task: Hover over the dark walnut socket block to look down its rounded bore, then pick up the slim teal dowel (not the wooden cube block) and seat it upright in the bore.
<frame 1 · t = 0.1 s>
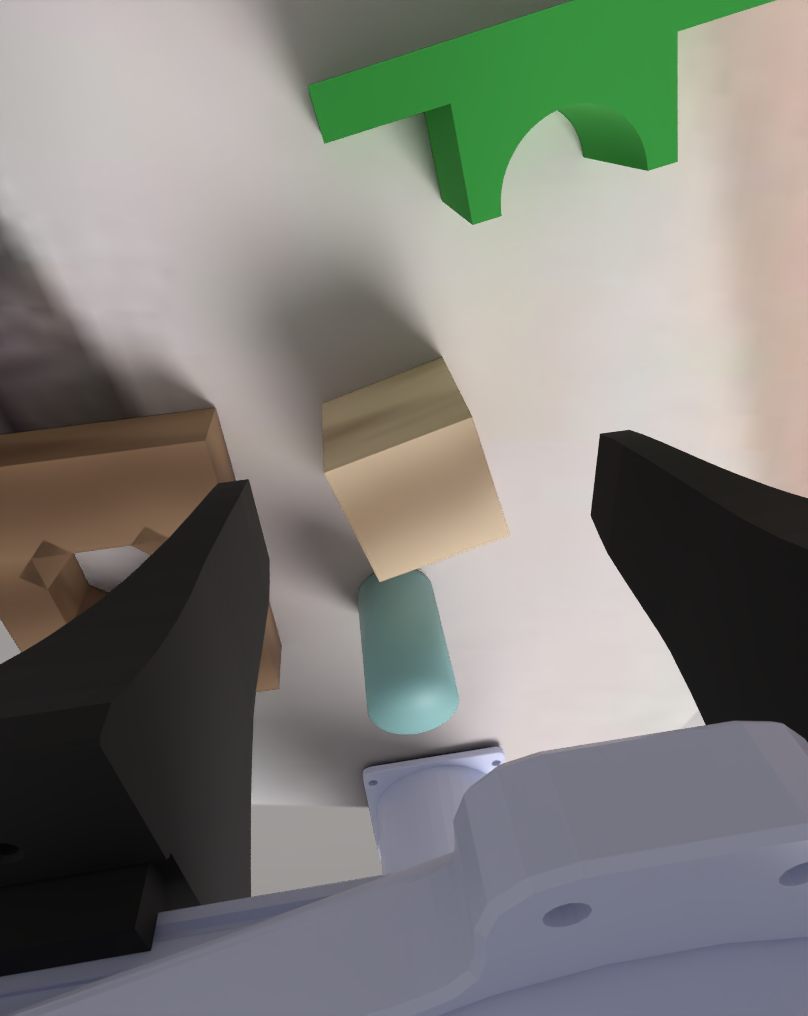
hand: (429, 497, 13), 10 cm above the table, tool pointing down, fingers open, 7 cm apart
socket block: (140, 558, 25), on the table
teal dowel: (395, 595, 27), on the table
wooden cube block: (402, 433, 23), on the table
green pronged block: (508, 101, 18), on the table
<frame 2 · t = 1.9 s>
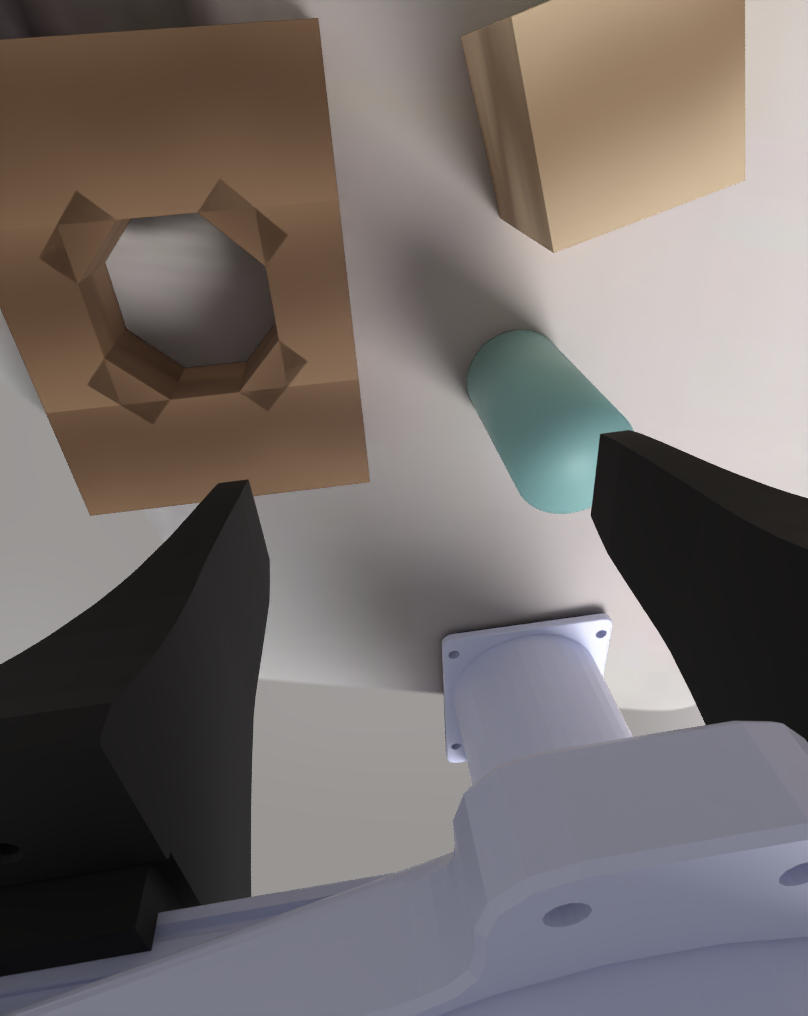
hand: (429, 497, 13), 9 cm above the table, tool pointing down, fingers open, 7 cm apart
socket block: (197, 289, 19), on the table
teal dowel: (514, 377, 21), on the table
wooden cube block: (559, 103, 17), on the table
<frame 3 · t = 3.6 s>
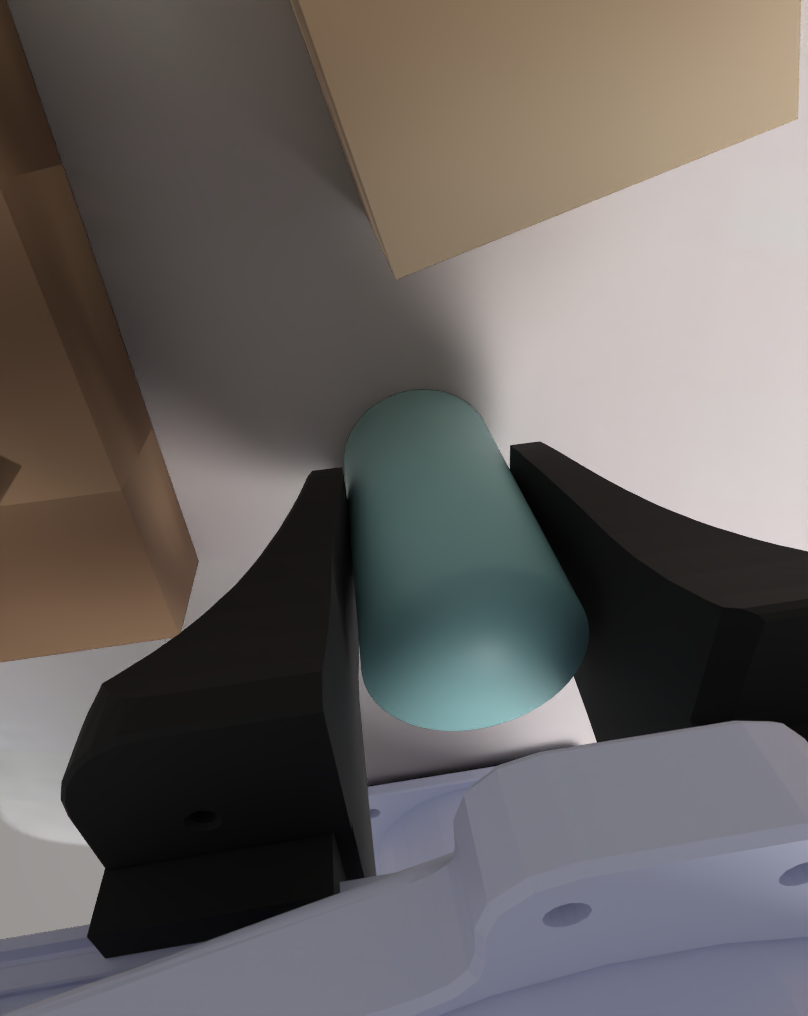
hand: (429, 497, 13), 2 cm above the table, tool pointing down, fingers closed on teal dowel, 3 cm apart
teal dowel: (418, 459, 14), on the table, touching gripper
wooden cube block: (448, 6, 10), on the table
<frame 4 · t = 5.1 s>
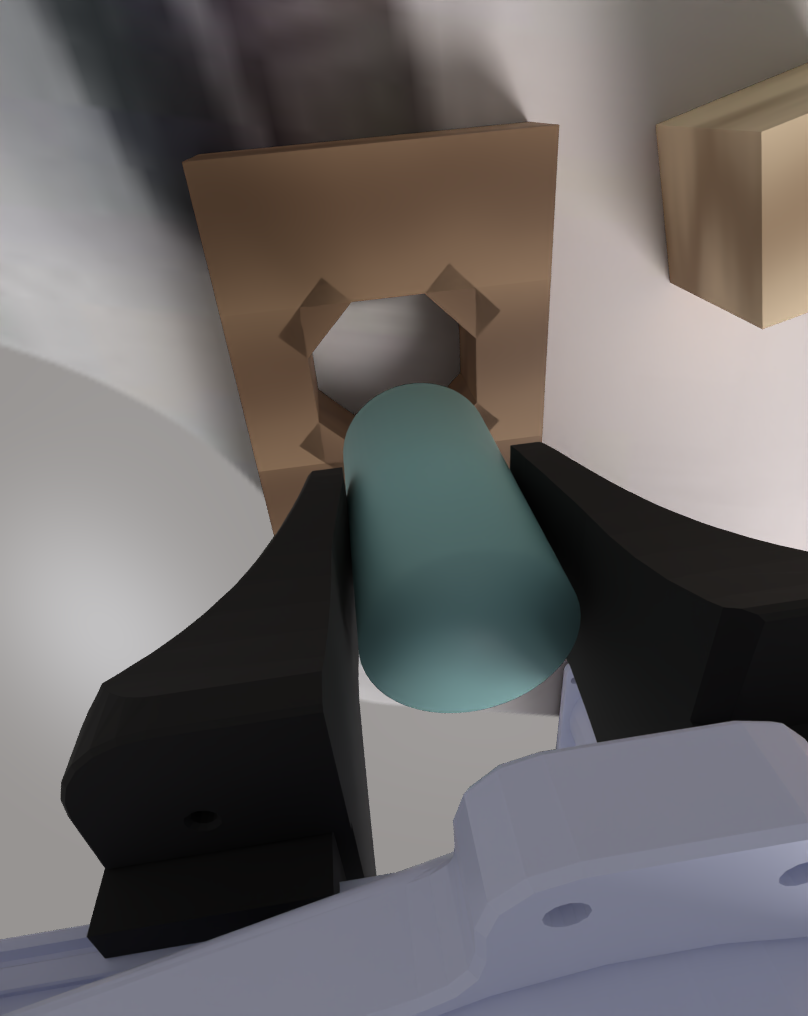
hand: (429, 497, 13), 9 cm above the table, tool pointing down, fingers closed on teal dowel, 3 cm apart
socket block: (387, 352, 20), on the table
teal dowel: (416, 452, 14), point 7 cm above the table, touching gripper
wooden cube block: (736, 179, 18), on the table
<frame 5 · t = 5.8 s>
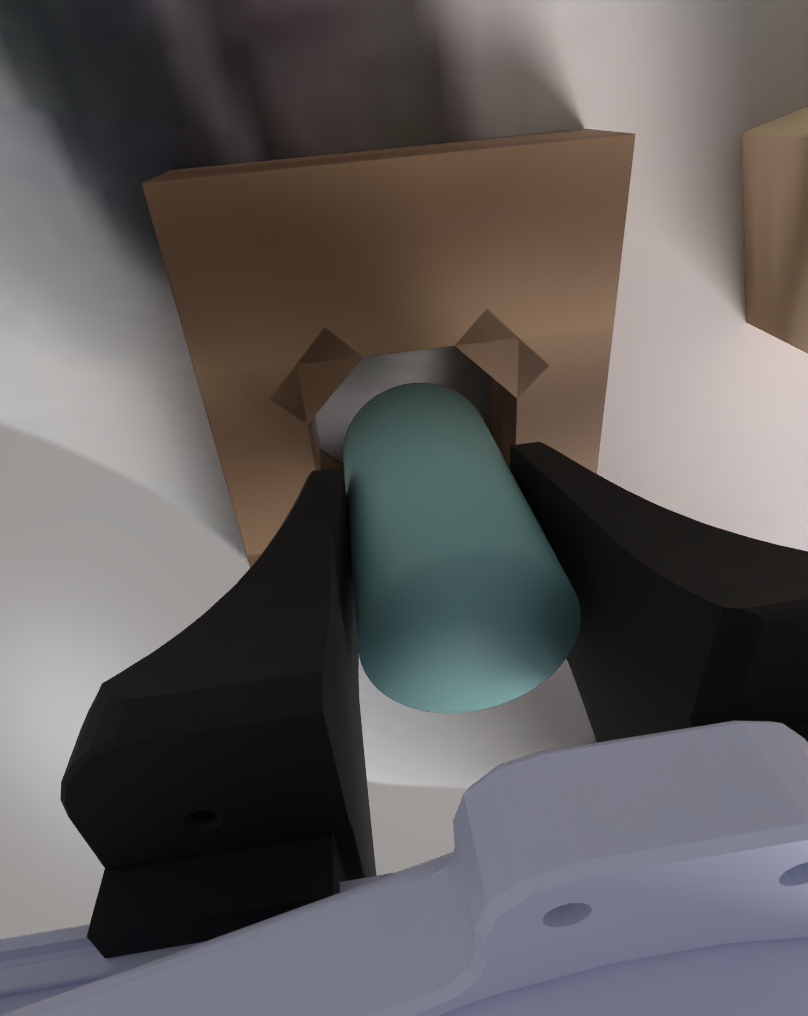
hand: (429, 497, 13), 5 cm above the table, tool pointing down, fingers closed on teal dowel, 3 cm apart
socket block: (403, 406, 16), on the table
teal dowel: (416, 452, 14), point 3 cm above the table, touching gripper
when the fingers open (3 cm above the table, at t = 6.4 s): teal dowel drops 1 cm, resting in socket block.
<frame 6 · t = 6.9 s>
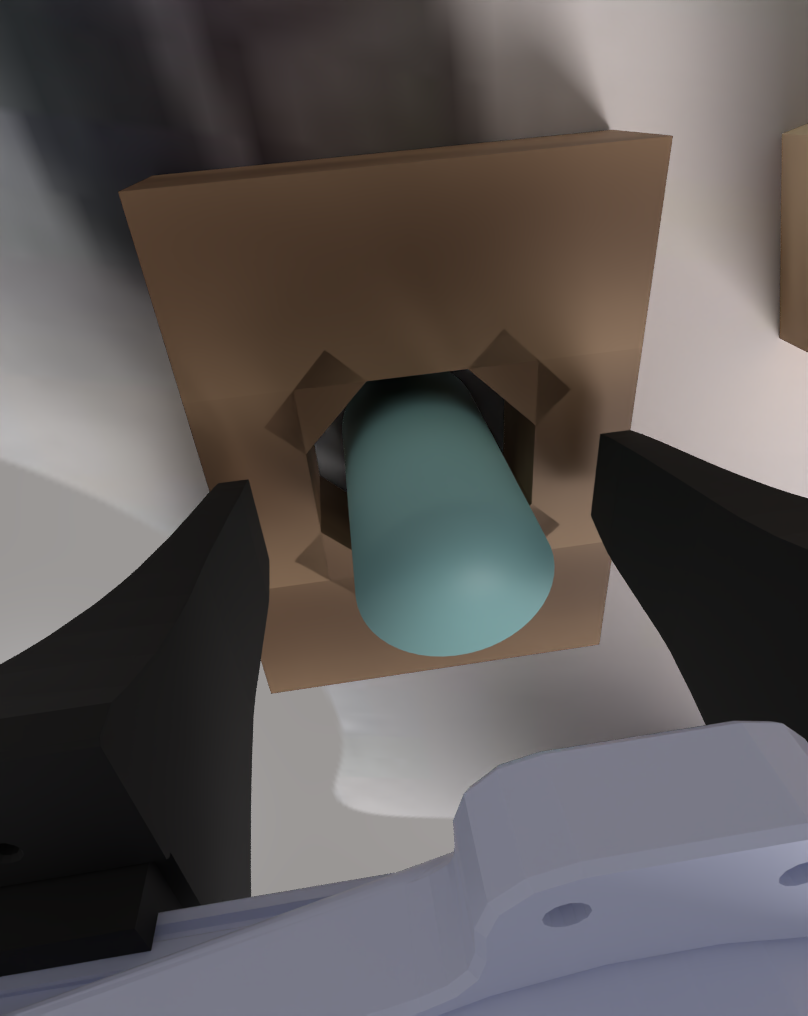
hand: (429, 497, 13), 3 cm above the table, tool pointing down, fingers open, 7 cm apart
socket block: (409, 428, 15), on the table
teal dowel: (410, 427, 15), resting in socket block
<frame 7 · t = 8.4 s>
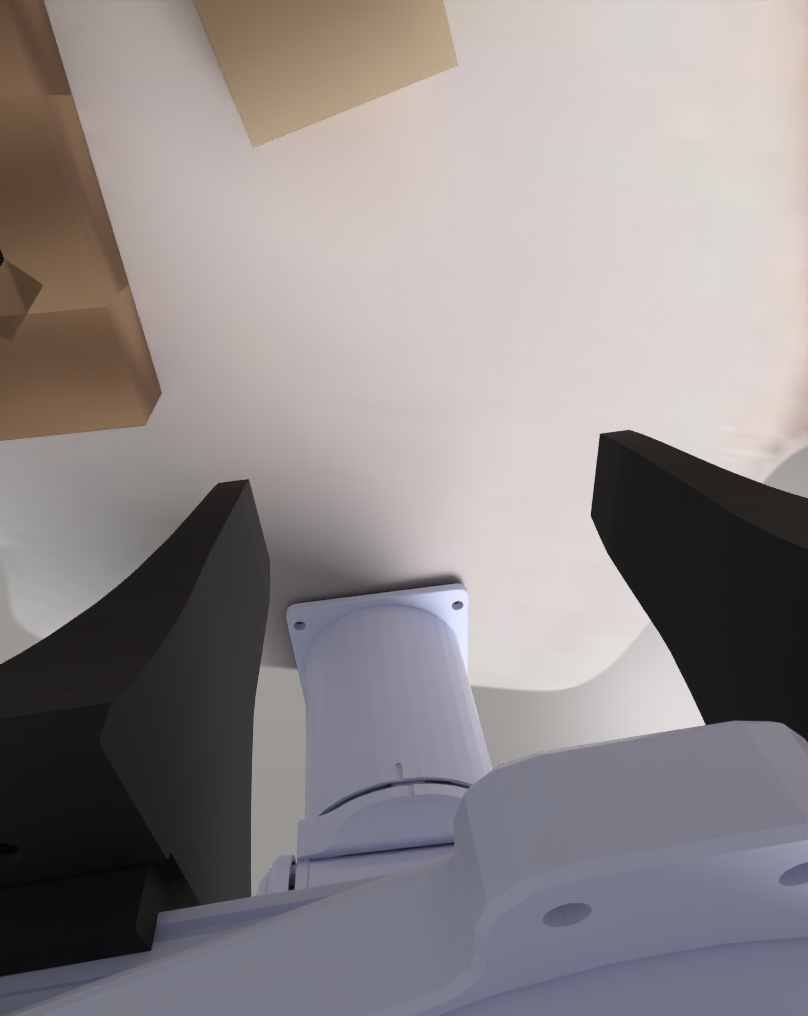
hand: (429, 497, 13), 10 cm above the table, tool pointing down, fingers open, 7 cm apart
wooden cube block: (311, 2, 16), on the table
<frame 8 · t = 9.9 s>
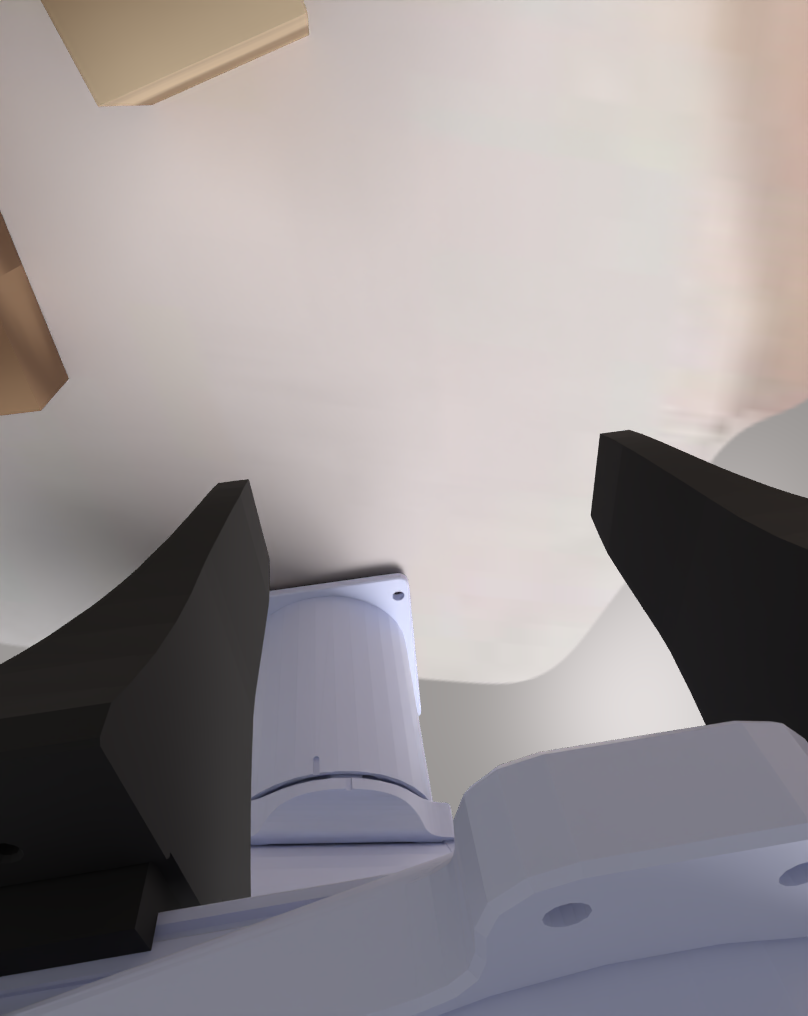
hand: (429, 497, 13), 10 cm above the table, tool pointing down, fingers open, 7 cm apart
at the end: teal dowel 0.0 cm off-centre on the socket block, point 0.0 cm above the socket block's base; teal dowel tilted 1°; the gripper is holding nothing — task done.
